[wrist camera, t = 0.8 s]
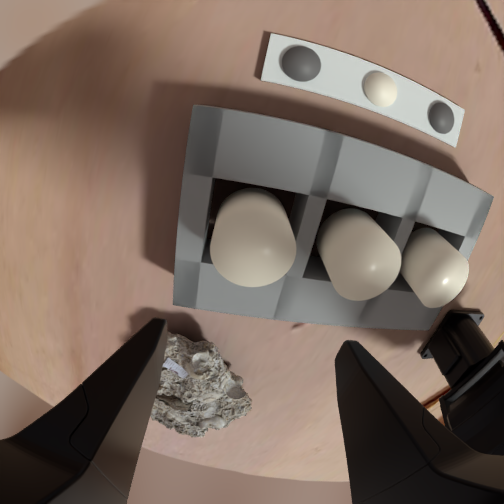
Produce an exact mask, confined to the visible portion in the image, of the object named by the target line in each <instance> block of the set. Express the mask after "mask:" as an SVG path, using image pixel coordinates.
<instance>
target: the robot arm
mask: <svg viewBox="0 0 504 504" xmlns="http://www.w3.org/2000/svg"><path fill="white" fill-rule="evenodd" d="M483 318H484V314H483V313H482V312H470V311H455V310H452V311H450V312H448V314H447V315H446V317H445V318H444V320H443V322H442V323H441V325H440V326H439V328H438V329H437V331H436V332H435V334H434V335H433V337H432V338H431V340H430V341H429V343H428V344H427V346H426V347H425V348H424V350H423V351H422V353H421V357H422V359H428V358H434V360H435V362H436V364H437V366H438V368H439V369H440V371H441V373H442V375H444V376H445V378H446V380H447V382H448V384H449V386H450V388H451V390H450V391H449V392H448V393H446V394H445V395H443V396H441V397H440V398H439V401H440V407H441V411H442V415H443V419H444V423H445V426H444V425H443V424H441V423H440V422H439V421H438V420H437V419H436V418H435V417H434V416H433V415H432V414H431V413H430V412H429V411H428V410H427V409H426V408H425V407H423V405H422V404H421V403H420V402H419V401H418V400H417V399H416V398H415V397H414V396H413V395H412V394H411V393H410V392H409V391H408V390H407V389H406V388H405V387H404V386H403V385H402V384H400V383H399V382H398V381H397V380H396V379H395V378H394V377H393V376H392V375H391V374H390V373H389V372H388V371H387V370H386V369H385V368H384V367H383V366H382V365H381V364H380V363H379V362H378V361H377V360H376V359H375V358H374V357H373V356H372V355H371V354H370V353H369V352H368V351H367V350H366V349H365V348H364V347H363V346H362V345H361V344H360V343H359V342H357V341H353V340H346V341H345V342H344V343H343V344H342V346H341V348H340V350H339V352H338V353H337V355H336V358H335V372H336V387H337V401H338V408H339V414H340V420H341V426H342V432H343V438H344V445H345V451H346V458H347V465H348V473H349V480H350V488H351V496H352V504H504V341H503V340H501V341H500V342H499V343H498V344H499V345H498V346H497V347H496V348H495V349H494V348H493V346H492V345H491V343H490V342H489V340H488V339H487V338H486V336H485V335H484V333H483V332H482V331H481V329H480V328H479V327H478V325H479V324H480V322H481V321H482V319H483ZM166 345H167V321H166V320H165V319H161V318H156V317H155V318H152V319H151V320H150V321H149V322H148V323H147V324H146V325H145V326H143V327H142V328H141V329H140V330H139V331H138V332H137V333H136V334H135V335H134V336H132V337H131V338H130V339H129V340H128V341H127V342H126V343H125V344H124V345H123V346H121V347H120V348H119V349H118V350H117V351H116V352H115V353H114V354H113V355H112V356H110V357H109V358H108V359H107V360H106V361H105V362H104V363H103V364H102V365H101V366H100V367H99V368H97V369H96V370H95V371H94V372H93V373H92V374H91V375H90V376H89V377H88V378H87V379H86V380H85V381H83V382H82V384H83V385H82V384H80V385H79V386H78V387H77V388H76V389H75V390H74V391H73V392H71V393H70V394H69V395H68V396H67V397H66V398H65V399H63V400H62V401H61V402H60V403H59V404H57V405H56V406H55V407H53V408H52V409H51V410H49V411H48V412H47V413H45V414H44V415H43V416H41V417H40V418H38V419H37V420H36V421H34V422H33V423H32V424H30V425H29V426H27V427H26V428H24V429H23V430H22V431H20V432H19V433H17V434H15V435H13V436H11V437H9V438H6V439H2V440H0V504H127V499H128V496H129V491H130V487H131V483H132V479H133V475H134V472H135V468H136V464H137V460H138V457H139V453H140V450H141V446H142V442H143V439H144V435H145V432H146V428H147V425H148V421H149V418H150V415H151V411H152V408H153V405H154V401H155V398H156V395H157V391H158V388H159V383H160V378H161V372H162V367H163V361H164V356H165V350H166Z"/></svg>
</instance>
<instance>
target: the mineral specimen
mask: <svg viewBox="0 0 504 504" xmlns="http://www.w3.org/2000/svg"><path fill="white" fill-rule="evenodd" d="M242 384H243V378H242V377H240V376H236V375H235V374H234V373H233V372H231V371H230V372H229V369H227V366H226V364H224V363H223V358H222V357H221V356H220V353H219V352H218V348H217V347H216V346H215V345H214V343H212V342H210V343H209V342H208V341H199V342H192V341H190V340H189V339H187V338H186V337H184V336H182V335H180V334H177V333H176V334H171V333H170V332H169V331H167V345H166V350H165V356H164V361H163V367H162V372H161V378H160V383H159V388H158V391H157V395H156V398H155V401H154V405H153V408H152V411H151V415H150V416H151V418H152V420H153V421H155V420H156V421H158V422H159V423H161V424H163V425H165V426H166V428H168V429H170V430H171V429H173V428H175V430H176V431H177V432H178V433H179V434H182V435H184V434H185V435H189V436H191V437H204V436H205V432H207V431H208V428H214V429H216V430H220V428H224V427H225V428H226V427H228V426H229V424H230V423H231V422H232V421H234V420H235V419H236V418H237V419H239V418H240V417H241V416H246V414H247V412H249V411H251V409H252V407H251V402H252V400H251V399H250V398H249V396H248V393H246V392H245V391H244V389H243V387H242Z"/></svg>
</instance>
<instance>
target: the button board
mask: <svg viewBox="0 0 504 504" xmlns="http://www.w3.org/2000/svg"><path fill="white" fill-rule="evenodd" d="M216 178H219V179H225V180H231V181H237V182H243V183H249V184H255V185H260V186H266V187H271V188H276V189H281V190H286V191H291V192H296V194H295V198H294V202H293V206H292V210H291V214H290V218H289V223H290V226H291V229H292V232H293V235H294V238H295V241H296V256H295V260H294V262H293V264H292V266H291V268H290V269H289V271H288V272H287V273H286V274H285V275H284V276H283V277H282V278H280V279H279V280H277V281H275V282H273V283H271V284H269V285H265V286H261V287H245V286H240V285H237V284H234V283H232V282H230V281H228V280H227V279H225V278H224V277H223V276H222V275H221V274H220V273H219V272H218V271H217V270H216V268H215V266H214V265H213V262H212V259H211V255H210V244H211V240H210V239H207V233H208V226H209V219H210V212H211V205H212V198H213V192H214V185H215V179H216ZM493 198H494V197H493V196H492V195H490V194H488V193H487V192H485V191H483V190H481V189H479V188H478V187H476V186H474V185H472V184H470V183H468V182H466V181H464V180H462V179H460V178H458V177H456V176H454V175H452V174H449V173H447V172H445V171H443V170H440V169H438V168H436V167H434V166H431V165H429V164H426V163H424V162H422V161H419V160H417V159H414V158H412V157H409V156H407V155H404V154H401V153H399V152H396V151H393V150H391V149H388V148H385V147H382V146H379V145H376V144H373V143H370V142H367V141H364V140H361V139H358V138H355V137H352V136H348V135H345V134H342V133H338V132H335V131H331V130H327V129H324V128H320V127H316V126H312V125H308V124H304V123H300V122H296V121H292V120H287V119H283V118H278V117H273V116H269V115H264V114H258V113H253V112H247V111H242V110H236V109H229V108H223V107H215V106H208V105H193V110H192V116H191V122H190V128H189V135H188V141H187V148H186V156H185V163H184V171H183V179H182V188H181V197H180V207H179V217H178V228H177V240H176V254H175V270H174V289H173V305H176V306H182V307H188V308H194V309H200V310H207V311H213V312H220V313H227V314H234V315H241V316H249V317H257V318H265V319H273V320H282V321H291V322H301V323H311V324H322V325H334V326H347V327H361V328H378V329H399V330H429V328H430V327H431V325H432V324H433V322H434V321H435V319H436V317H437V316H438V314H439V312H440V311H441V309H442V307H443V306H444V305H443V306H441V307H438V308H428V307H426V306H424V305H423V304H422V302H421V301H420V299H419V298H418V297H417V295H416V294H415V292H414V291H413V290H412V288H411V287H410V285H409V284H408V283H407V281H406V280H405V279H404V277H403V276H402V275H401V273H400V272H399V273H398V276H397V277H396V279H395V281H394V282H393V283H392V284H391V286H390V287H389V288H388V289H387V290H385V291H384V292H383V293H381V294H380V295H378V296H376V297H374V298H371V299H368V300H363V301H354V300H349V299H346V298H344V297H342V296H341V295H340V294H338V293H337V291H336V290H335V288H334V286H333V284H332V282H331V279H330V277H329V275H328V272H327V270H326V268H325V266H324V263H323V261H322V259H321V257H315V256H310V252H311V249H312V246H313V243H314V240H315V237H316V233H317V230H318V227H319V224H320V220H321V217H322V214H323V210H324V207H325V204H326V200H327V199H329V200H333V201H338V202H342V203H346V204H351V205H355V206H359V207H363V208H367V209H371V210H375V211H379V213H378V215H377V218H376V221H375V222H376V223H377V224H378V225H379V226H380V227H381V228H382V229H383V230H384V231H385V233H386V234H387V235H388V236H389V237H390V238H391V239H392V240H393V241H394V242H395V244H396V245H397V246H398V248H399V250H400V253H401V255H402V252H403V250H404V248H405V245H406V243H407V241H408V238H409V236H410V233H411V231H412V228H413V226H414V223H415V221H416V222H419V223H423V224H426V225H429V226H433V227H436V228H440V229H439V231H438V233H439V234H440V235H441V236H442V237H443V238H444V239H445V240H447V241H448V242H449V243H450V244H451V245H452V246H453V247H454V248H455V249H456V250H458V251H459V252H460V253H461V254H462V255H463V256H464V257H465V258H466V260H467V261H468V259H469V257H470V254H471V252H472V250H473V248H474V246H475V243H476V241H477V239H478V237H479V234H480V232H481V230H482V227H483V225H484V222H485V220H486V217H487V214H488V212H489V209H490V206H491V204H492V201H493Z"/></svg>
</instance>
